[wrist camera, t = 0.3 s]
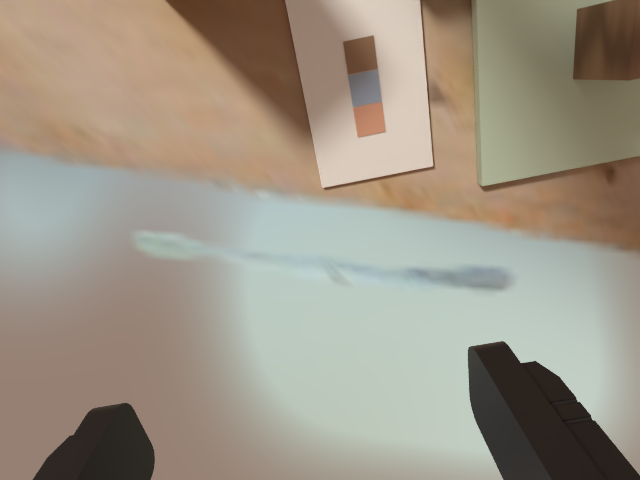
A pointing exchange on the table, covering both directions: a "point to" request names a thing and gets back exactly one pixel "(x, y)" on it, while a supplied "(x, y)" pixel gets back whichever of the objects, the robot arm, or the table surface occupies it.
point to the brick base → (608, 41)
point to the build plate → (543, 94)
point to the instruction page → (363, 86)
